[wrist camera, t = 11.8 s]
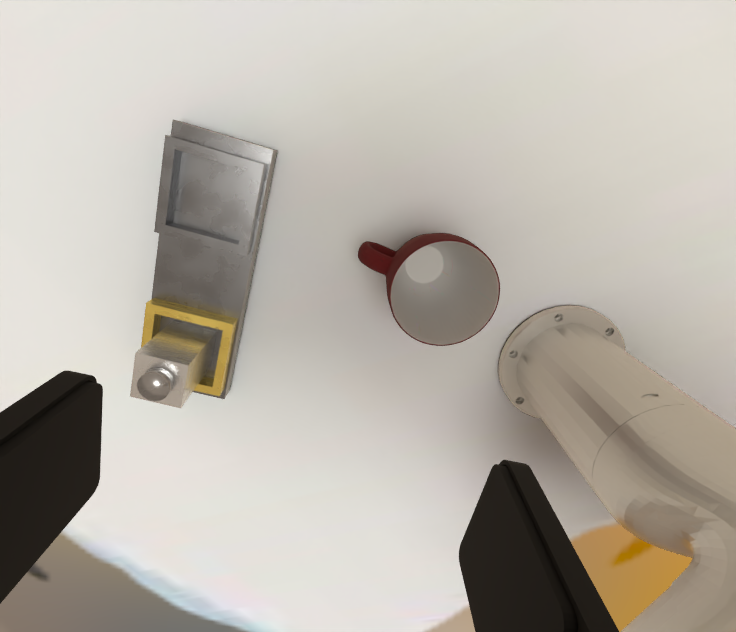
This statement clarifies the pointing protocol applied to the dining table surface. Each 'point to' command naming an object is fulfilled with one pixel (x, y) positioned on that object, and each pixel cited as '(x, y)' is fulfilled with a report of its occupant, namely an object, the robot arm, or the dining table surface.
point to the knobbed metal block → (172, 364)
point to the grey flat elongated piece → (208, 239)
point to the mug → (437, 286)
